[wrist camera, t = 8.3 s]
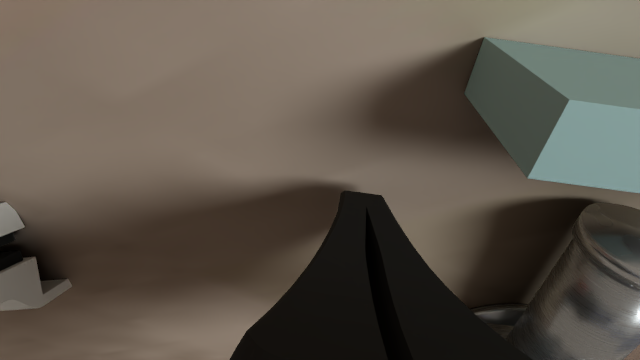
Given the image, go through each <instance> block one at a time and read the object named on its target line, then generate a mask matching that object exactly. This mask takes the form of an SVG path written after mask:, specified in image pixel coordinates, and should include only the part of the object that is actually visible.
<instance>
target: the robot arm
mask: <svg viewBox="0 0 640 360" xmlns="http://www.w3.org/2000/svg"><path fill="white" fill-rule="evenodd" d="M230 360H533V359H531V358H530V357H528V356H527V355H526V354H524V353H523V352H522V351H520V350H519V349H518V348H516V347H515V346H513V345H512V344H511V343H509V342H508V341H507V340H505V339H504V338H503V337H502V336H500V335H499V334H498V333H497V332H496V331H494V330H493V329H492V328H491V327H489V326H488V325H487V324H486V323H485V322H483V321H482V320H481V319H480V318H479V317H478V316H477V315H475V314H474V313H473V312H472V311H471V310H470V309H469V308H468V307H467V306H466V305H465V304H464V303H463V302H461V301H460V300H459V299H458V298H457V297H456V296H455V295H454V294H453V293H452V292H451V291H450V290H449V289H448V288H447V287H446V286H445V285H444V283H443V282H442V281H441V280H440V279H439V278H438V277H437V276H436V274H435V273H434V272H433V271H432V270H431V269H430V268H429V266H428V265H427V264H426V263H425V261H424V260H423V259H422V257H421V256H420V255H419V253H418V252H417V251H416V249H415V248H414V247H413V245H412V244H411V242H410V241H409V239H408V238H407V236H406V235H405V233H404V232H403V230H402V229H401V227H400V226H399V224H398V222H397V221H396V219H395V217H394V216H393V214H392V212H391V211H390V209H389V207H388V205H387V203H386V202H385V200H384V198H383V197H382V195H375V194H367V193H360V192H352V191H343V192H342V193H341V196H340V201H339V206H338V212H337V214H336V217H335V219H334V221H333V224H332V226H331V228H330V230H329V232H328V234H327V236H326V238H325V239H324V241H323V243H322V245H321V247H320V248H319V250H318V251H317V253H316V255H315V256H314V258H313V259H312V261H311V262H310V263H309V265H308V266H307V268H306V269H305V270H304V272H303V273H302V274H301V275H300V277H299V278H298V279H297V281H296V282H295V283H294V284H293V285H292V287H291V288H290V289H289V290H288V291H287V292H286V293H285V294H284V295H283V296H282V298H281V299H280V300H279V301H278V302H277V303H276V304H275V305H274V306H273V307H272V308H271V309H270V310H269V311H268V312H267V313H266V314H265V315H264V316H263V317H261V318H260V319H259V320H258V321H257V322H256V323H255V324H254V325H253V326H252V327H250V328H249V329H248V330H247V331H246V333H245V334H244V336H243V338H242V339H241V341H240V343H239V344H238V346H237V348H236V349H235V351H234V353H233V355H232V356H231V358H230Z"/></svg>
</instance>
